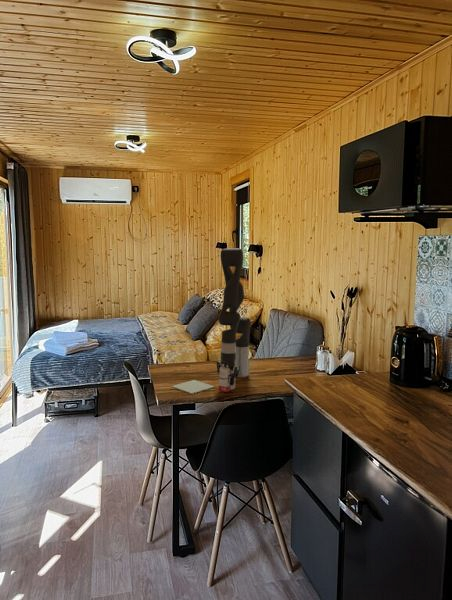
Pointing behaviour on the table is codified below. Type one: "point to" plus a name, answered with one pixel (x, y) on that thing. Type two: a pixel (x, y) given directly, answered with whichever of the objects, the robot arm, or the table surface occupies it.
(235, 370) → the robot arm
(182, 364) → the table surface
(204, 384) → the mat
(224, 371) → the ink box
